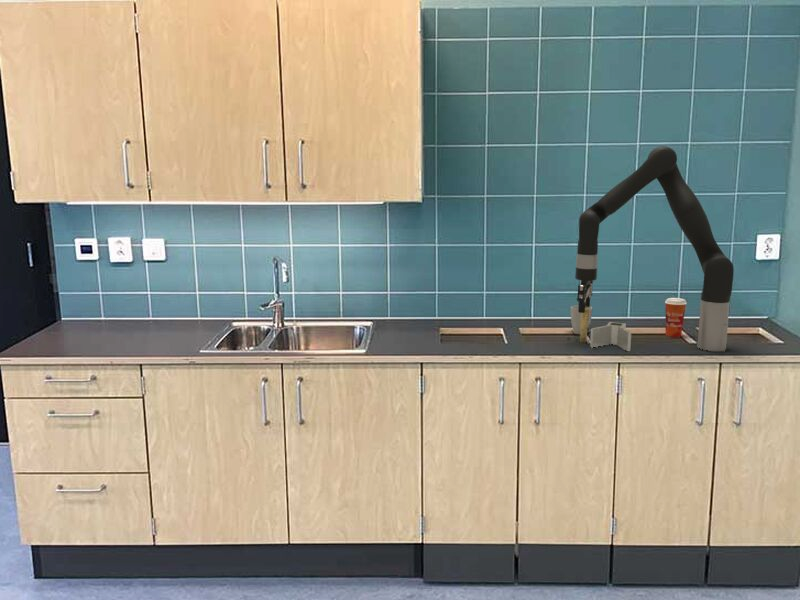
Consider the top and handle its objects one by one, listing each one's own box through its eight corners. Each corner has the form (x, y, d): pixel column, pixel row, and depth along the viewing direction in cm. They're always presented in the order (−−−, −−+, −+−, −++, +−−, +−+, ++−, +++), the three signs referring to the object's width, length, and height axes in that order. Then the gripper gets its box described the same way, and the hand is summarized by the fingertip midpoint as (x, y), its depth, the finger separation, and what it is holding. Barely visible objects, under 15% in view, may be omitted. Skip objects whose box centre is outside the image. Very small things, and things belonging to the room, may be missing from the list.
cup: (586, 336, 273) (587, 310, 272) (566, 333, 278) (567, 307, 276) (594, 332, 280) (595, 306, 278) (574, 329, 285) (575, 304, 283)
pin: (588, 341, 266) (590, 306, 263) (586, 343, 263) (588, 308, 260) (579, 340, 267) (580, 305, 265) (577, 342, 264) (578, 307, 262)
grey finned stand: (636, 343, 262) (637, 324, 261) (629, 352, 250) (631, 332, 248) (597, 339, 268) (598, 320, 267) (589, 348, 256) (590, 328, 254)
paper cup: (661, 336, 272) (663, 300, 269) (664, 332, 279) (666, 296, 276) (683, 338, 268) (685, 302, 266) (685, 334, 275) (688, 298, 273)
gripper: (593, 269, 252) (590, 315, 255) (600, 264, 264) (598, 308, 267) (571, 268, 255) (569, 313, 258) (580, 263, 268) (578, 306, 271)
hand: (584, 310), depth 263 cm, fingers open, 8 cm apart
